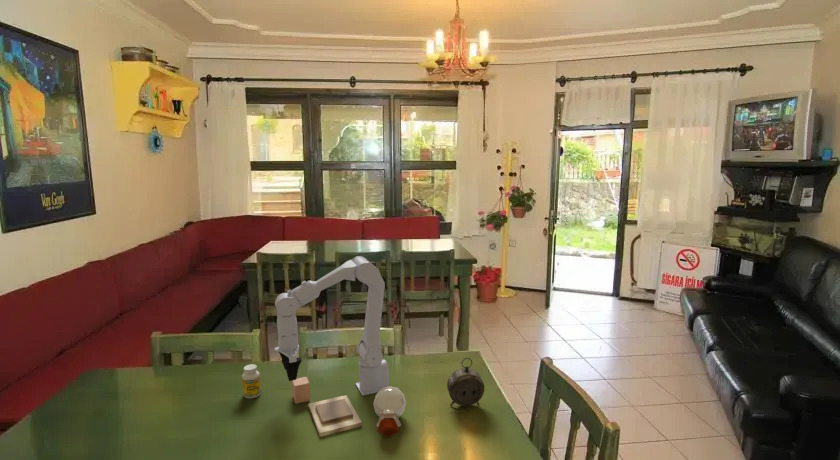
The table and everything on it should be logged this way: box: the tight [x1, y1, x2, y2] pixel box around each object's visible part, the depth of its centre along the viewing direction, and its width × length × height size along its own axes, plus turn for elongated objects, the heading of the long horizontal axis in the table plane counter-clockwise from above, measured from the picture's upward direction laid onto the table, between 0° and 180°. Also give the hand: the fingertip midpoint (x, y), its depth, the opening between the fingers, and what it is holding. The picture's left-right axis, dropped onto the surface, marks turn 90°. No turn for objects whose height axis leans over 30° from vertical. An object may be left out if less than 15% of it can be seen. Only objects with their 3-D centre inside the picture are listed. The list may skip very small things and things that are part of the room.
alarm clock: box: [446, 357, 485, 412], centre depth 141 cm, size 11×5×16 cm, turn 96°
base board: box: [308, 394, 363, 438], centre depth 138 cm, size 12×16×2 cm
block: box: [291, 376, 311, 405], centre depth 147 cm, size 4×4×6 cm
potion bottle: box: [372, 385, 407, 439], centre depth 134 cm, size 9×10×15 cm
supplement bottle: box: [241, 363, 262, 399], centre depth 149 cm, size 5×5×10 cm
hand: (290, 374), depth 143 cm, fingers open, 7 cm apart
